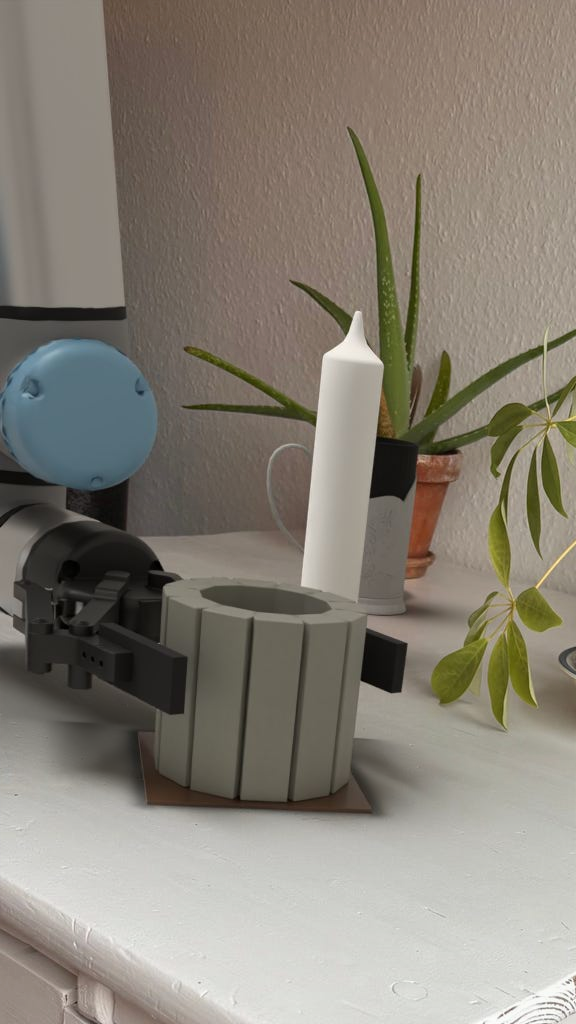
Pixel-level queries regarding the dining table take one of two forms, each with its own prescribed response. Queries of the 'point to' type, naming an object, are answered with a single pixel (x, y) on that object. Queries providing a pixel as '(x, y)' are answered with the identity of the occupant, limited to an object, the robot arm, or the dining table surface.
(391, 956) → the dining table surface
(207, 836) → the dining table surface
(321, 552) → the candle
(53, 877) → the dining table surface
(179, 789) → the peg stand
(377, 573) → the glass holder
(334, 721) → the slatted planter pot
